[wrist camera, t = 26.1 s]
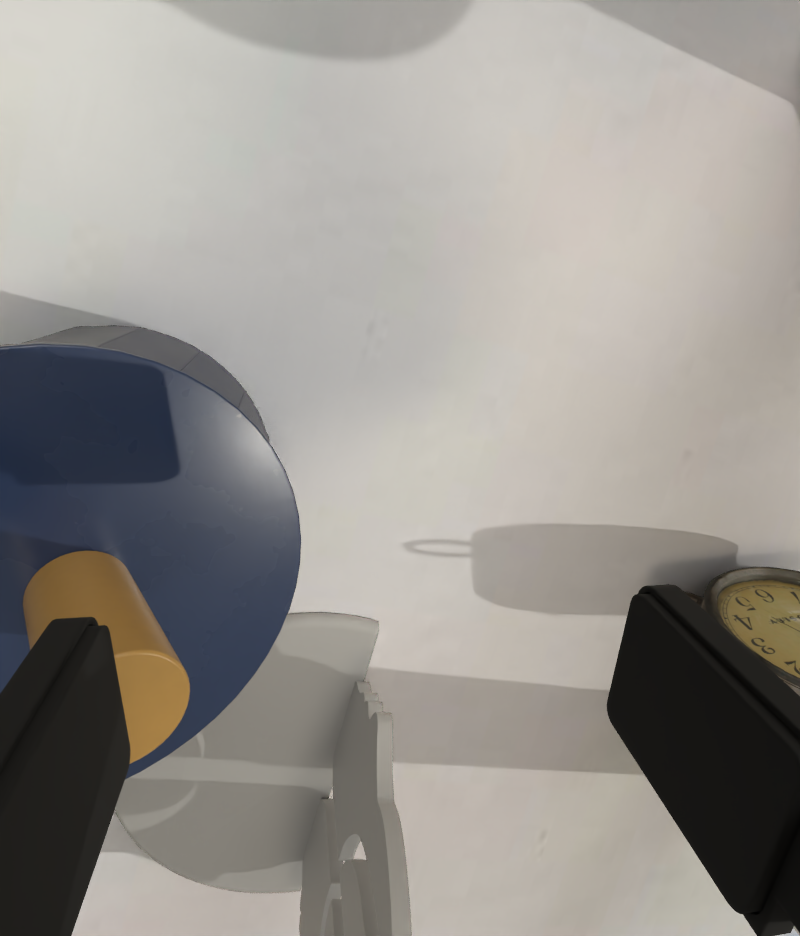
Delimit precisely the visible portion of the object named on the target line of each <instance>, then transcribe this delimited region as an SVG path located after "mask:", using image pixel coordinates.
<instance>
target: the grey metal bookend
mask: <svg viewBox="0 0 800 936" xmlns="http://www.w3.org/2000/svg"><path fill="white" fill-rule="evenodd" d="M378 632H379V622H378V621H376V620H372V619H368V618H363V617H359V616H353V615H346V614H336V613H298V614H288V615H287V616H286V619H285V621H284V624H283V626H282V629H281V631H280V633H279V635H278V637H277V639H276V640H275V642H274V644H273V646H272V648H271V650H270V652H269V654H268V655H267V657H266V658H265V660H264V661H263V663H262V664H261V666H260V667H259V669H258V670H257V672H256V673H255V674H254V676H253V677H252V678H251V680H250V681H249V682H248V683H247V685H246V686H245V687H244V688H243V689H242V691H241V692H240V693H239V694H238V696H237V697H236V698H235V699H234V700H233V701H232V702H231V703H230V704H229V705H228V706H227V707H226V708H225V709H224V710H223V711H222V712H221V713H220V714H219V715H218V716H217V717H216V718H215V719H214V720H213V721H212V722H211V723H209V724H208V725H207V726H206V727H205V728H204V729H202V730H201V731H200V732H199V733H198V734H197V735H195V736H194V737H193V738H192V739H190V740H189V741H187V742H186V743H185V744H183V745H182V746H180V747H179V748H178V749H176V750H175V751H174V752H172V753H171V754H169V755H168V756H166V757H165V758H163V759H161V760H160V761H158V762H156V763H155V764H153V765H151V766H150V767H148V768H146V769H145V770H143V771H141V772H139V773H137V774H135V775H133V776H131V777H129V778H127V779H125V781H124V784H123V787H122V790H121V792H120V795H119V798H118V801H117V804H116V807H115V811H116V813H117V816H118V818H119V820H120V822H121V823H122V825H123V827H124V828H125V830H126V831H127V833H128V834H129V836H130V837H131V838H132V839H133V841H134V842H135V843H136V844H137V845H138V846H139V847H140V848H141V849H142V850H143V851H144V852H145V853H146V854H147V855H149V856H150V857H151V858H152V859H154V860H155V861H156V862H158V863H159V864H161V865H162V866H164V867H166V868H167V869H169V870H171V871H173V872H175V873H176V874H178V875H181V876H183V877H185V878H187V879H190V880H193V881H195V882H198V883H201V884H204V885H208V886H212V887H216V888H220V889H225V890H231V891H238V892H248V893H285V892H295V891H300V890H301V887H302V892H301V901H300V911H301V915H300V924H299V931H300V936H412V932H411V912H410V898H409V886H408V875H407V865H406V856H405V848H404V840H403V834H402V828H401V822H400V818H399V814H398V811H397V808H396V805H395V803H394V791H393V760H392V746H393V720H392V715H391V713H385V712H383V707H382V702H378V694H377V693H372V691H371V686H370V683H369V682H366V681H364V679H365V676H366V673H367V669H368V666H369V663H370V659H371V656H372V653H373V649H374V646H375V643H376V640H377V636H378ZM332 785H333V799H328V798H329V795H330V791H331V788H332ZM360 841H362V844H363V847H364V851H365V855H366V859H367V861H366V860H363V859H353V858H354V855H355V852H356V849H357V847H358V844H359V843H360ZM343 861H345V863H344V864H343ZM340 898H341V899H340Z"/></svg>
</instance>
